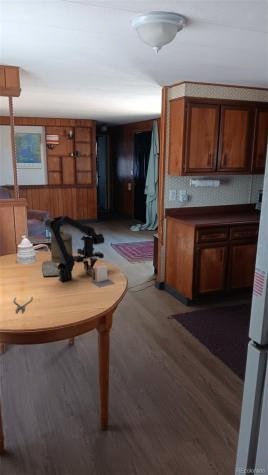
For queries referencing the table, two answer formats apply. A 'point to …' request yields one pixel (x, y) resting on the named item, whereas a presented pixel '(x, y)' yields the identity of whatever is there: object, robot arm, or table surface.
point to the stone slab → (49, 268)
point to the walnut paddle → (90, 271)
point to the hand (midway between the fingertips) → (89, 270)
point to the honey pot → (26, 252)
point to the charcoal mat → (103, 283)
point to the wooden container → (68, 244)
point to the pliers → (21, 306)
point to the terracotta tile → (101, 273)
